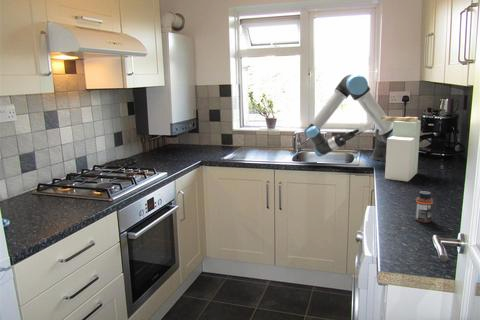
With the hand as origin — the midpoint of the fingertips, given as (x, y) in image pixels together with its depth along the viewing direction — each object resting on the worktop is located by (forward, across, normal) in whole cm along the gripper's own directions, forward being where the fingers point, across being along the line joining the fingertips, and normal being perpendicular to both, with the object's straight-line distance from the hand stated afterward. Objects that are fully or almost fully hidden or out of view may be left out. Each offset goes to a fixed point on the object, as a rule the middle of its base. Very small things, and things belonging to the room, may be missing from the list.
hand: (367, 126), depth 240 cm
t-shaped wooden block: (+17, 0, -5) cm, 17 cm away
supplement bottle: (+28, +75, -46) cm, 92 cm away
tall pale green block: (+6, +5, -33) cm, 34 cm away
